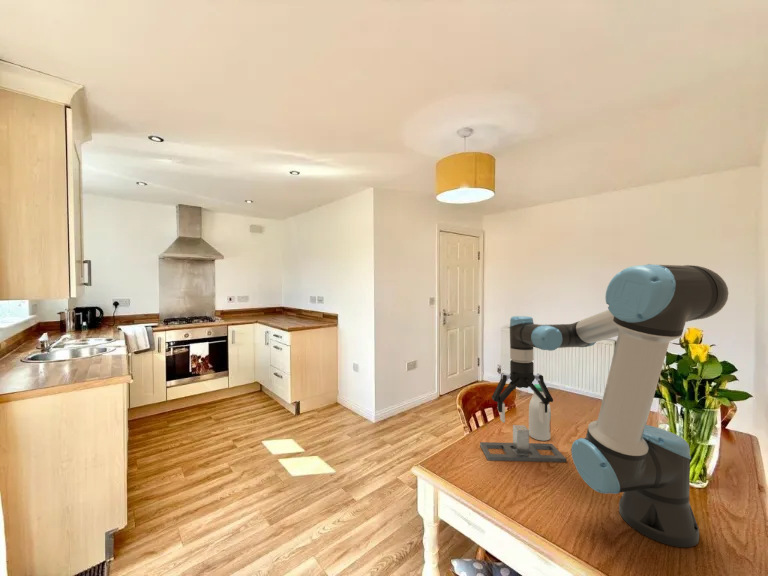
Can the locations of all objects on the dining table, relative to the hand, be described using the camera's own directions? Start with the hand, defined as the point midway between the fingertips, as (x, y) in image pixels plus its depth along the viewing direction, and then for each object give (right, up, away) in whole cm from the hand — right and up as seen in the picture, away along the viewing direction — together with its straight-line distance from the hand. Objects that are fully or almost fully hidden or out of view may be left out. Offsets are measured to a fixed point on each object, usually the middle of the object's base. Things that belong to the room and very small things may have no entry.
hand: (522, 421), depth 112 cm
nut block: (0, -12, +1) cm, 12 cm away
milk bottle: (+12, -12, +13) cm, 21 cm away
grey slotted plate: (0, -12, +1) cm, 12 cm away
